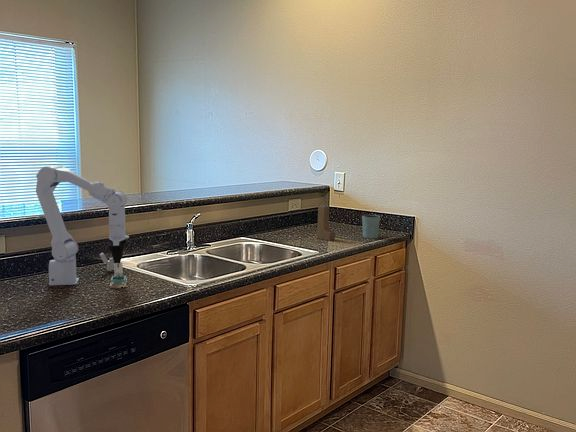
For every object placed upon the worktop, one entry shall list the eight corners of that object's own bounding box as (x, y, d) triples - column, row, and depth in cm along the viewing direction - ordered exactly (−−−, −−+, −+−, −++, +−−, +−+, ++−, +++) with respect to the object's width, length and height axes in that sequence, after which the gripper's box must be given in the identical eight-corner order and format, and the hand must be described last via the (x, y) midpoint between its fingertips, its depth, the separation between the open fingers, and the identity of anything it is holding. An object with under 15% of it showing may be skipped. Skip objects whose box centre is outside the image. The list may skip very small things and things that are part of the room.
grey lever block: (116, 269, 231) (115, 250, 229) (118, 270, 229) (117, 251, 228) (99, 272, 226) (99, 252, 225) (101, 272, 225) (101, 253, 223)
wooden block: (334, 239, 302) (336, 207, 299) (329, 241, 298) (331, 207, 296) (322, 237, 308) (323, 205, 305) (316, 238, 305) (318, 205, 302)
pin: (114, 282, 208) (113, 264, 207) (114, 280, 211) (114, 262, 209) (122, 282, 208) (122, 264, 207) (123, 280, 211) (122, 262, 210)
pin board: (109, 288, 204) (109, 281, 204) (112, 281, 213) (111, 274, 213) (125, 287, 206) (125, 281, 205) (127, 280, 215) (126, 274, 214)
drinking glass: (373, 239, 306) (374, 217, 304) (357, 236, 312) (358, 215, 310) (382, 236, 314) (383, 215, 312) (366, 234, 320) (367, 213, 318)
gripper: (127, 228, 200) (128, 265, 202) (129, 221, 214) (130, 255, 216) (106, 228, 198) (107, 265, 200) (110, 221, 212) (111, 256, 214)
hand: (118, 260), depth 208 cm, fingers open, 7 cm apart
